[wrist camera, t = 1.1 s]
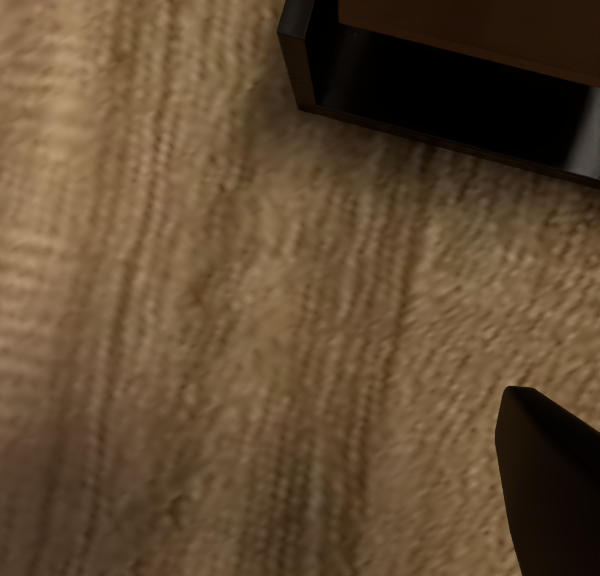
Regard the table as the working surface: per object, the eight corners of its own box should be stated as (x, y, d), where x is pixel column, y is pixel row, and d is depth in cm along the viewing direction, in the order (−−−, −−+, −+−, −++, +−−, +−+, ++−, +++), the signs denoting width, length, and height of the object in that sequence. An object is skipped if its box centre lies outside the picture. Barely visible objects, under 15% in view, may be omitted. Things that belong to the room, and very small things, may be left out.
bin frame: (641, 201, 20) (776, 160, 14) (297, 110, 21) (276, 32, 15) (702, 0, 20) (867, -136, 14) (353, -81, 21) (355, -243, 15)
